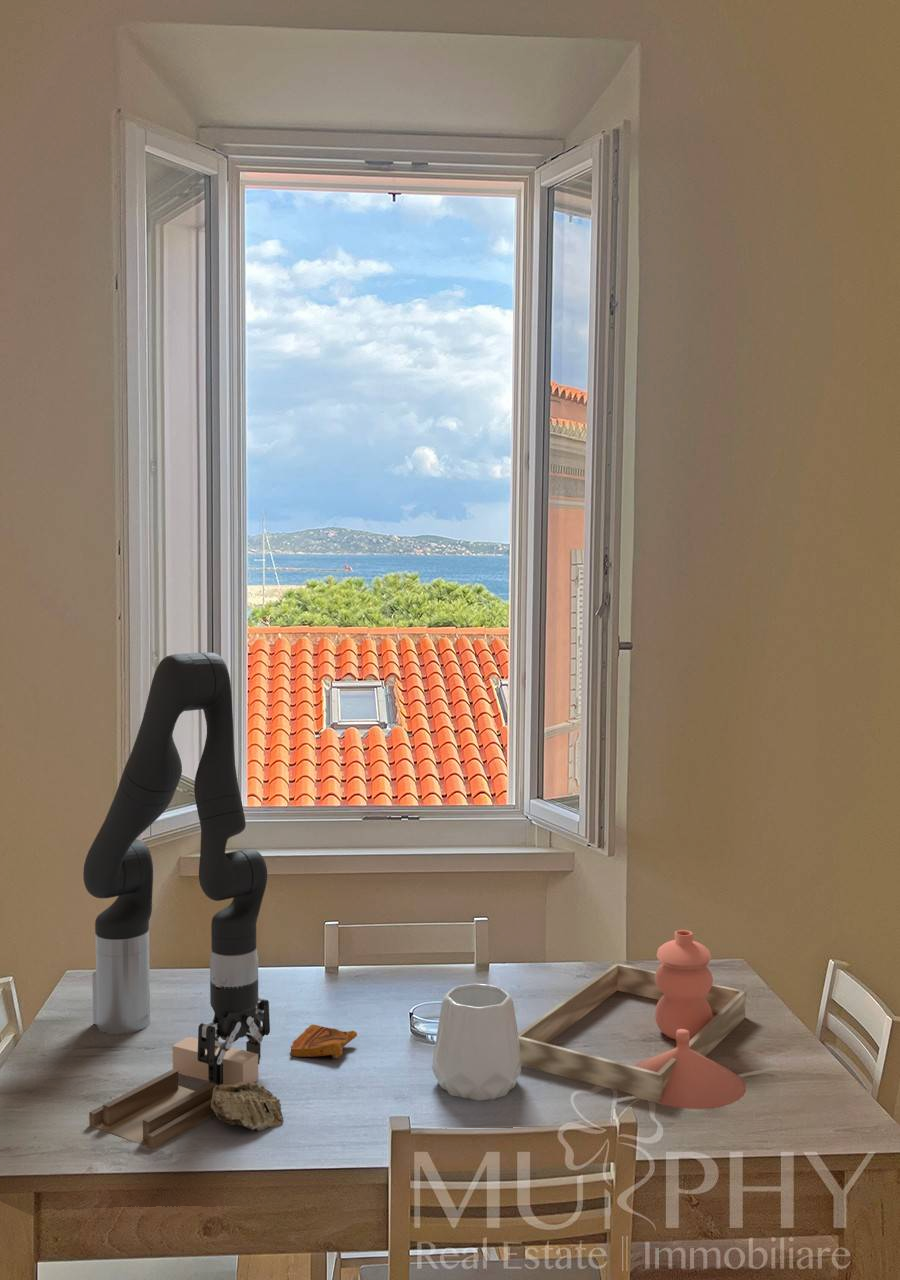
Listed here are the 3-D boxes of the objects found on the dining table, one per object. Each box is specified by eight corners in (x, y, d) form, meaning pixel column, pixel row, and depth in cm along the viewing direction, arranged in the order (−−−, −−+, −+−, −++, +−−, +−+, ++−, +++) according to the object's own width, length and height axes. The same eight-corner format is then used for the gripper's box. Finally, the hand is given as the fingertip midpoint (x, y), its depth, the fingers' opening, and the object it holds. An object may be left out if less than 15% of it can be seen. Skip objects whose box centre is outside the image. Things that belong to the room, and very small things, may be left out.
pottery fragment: (341, 1046, 197) (286, 1030, 200) (337, 1073, 198) (281, 1056, 200) (361, 1025, 207) (308, 1009, 209) (357, 1050, 207) (304, 1034, 210)
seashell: (275, 1157, 175) (285, 1100, 184) (285, 1127, 172) (295, 1070, 180) (199, 1141, 174) (214, 1084, 183) (208, 1110, 171) (222, 1054, 179)
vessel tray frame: (512, 1066, 198) (513, 1036, 198) (615, 988, 232) (615, 963, 232) (659, 1106, 184) (660, 1075, 184) (745, 1017, 219) (746, 991, 218)
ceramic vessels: (753, 1122, 180) (754, 1000, 178) (612, 1112, 184) (611, 992, 182) (744, 1029, 214) (744, 926, 212) (625, 1022, 218) (624, 921, 216)
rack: (89, 1130, 176) (89, 1104, 175) (169, 1088, 189) (168, 1063, 189) (152, 1155, 169) (152, 1128, 168) (230, 1109, 182) (230, 1084, 182)
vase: (419, 1076, 194) (419, 985, 193) (498, 1061, 200) (499, 973, 198) (453, 1115, 181) (454, 1018, 180) (536, 1098, 187) (538, 1004, 185)
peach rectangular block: (172, 1075, 194) (172, 1045, 194) (188, 1065, 198) (188, 1036, 197) (243, 1094, 188) (242, 1063, 188) (258, 1084, 192) (258, 1053, 191)
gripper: (246, 958, 198) (247, 1052, 199) (184, 985, 186) (185, 1086, 187) (281, 967, 194) (282, 1063, 195) (220, 995, 182) (221, 1098, 183)
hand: (235, 1074), depth 191 cm, fingers open, 8 cm apart
